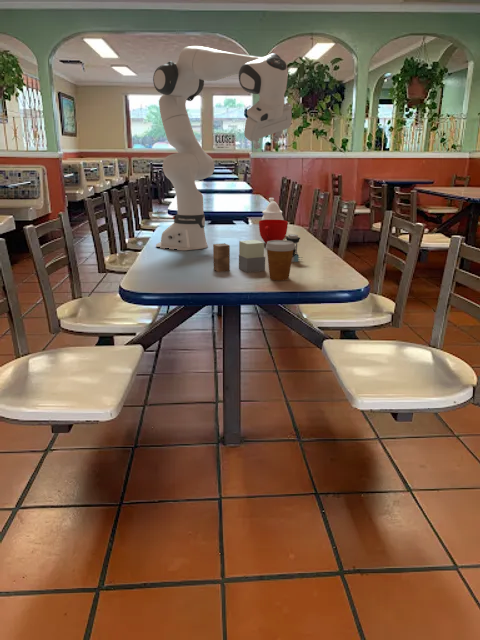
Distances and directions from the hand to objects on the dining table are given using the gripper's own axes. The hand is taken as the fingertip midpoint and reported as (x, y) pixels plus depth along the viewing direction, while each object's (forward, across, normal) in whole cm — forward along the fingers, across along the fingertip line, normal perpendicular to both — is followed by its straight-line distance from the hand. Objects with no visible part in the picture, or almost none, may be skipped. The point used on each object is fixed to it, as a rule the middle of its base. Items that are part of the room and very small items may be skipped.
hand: (266, 144), depth 186 cm
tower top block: (+21, +28, +28) cm, 45 cm away
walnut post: (+25, +38, +24) cm, 52 cm away
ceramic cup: (+50, -7, +4) cm, 50 cm away
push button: (+31, +9, +31) cm, 45 cm away
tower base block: (+25, +29, +30) cm, 49 cm away
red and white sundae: (+62, -24, -12) cm, 67 cm away
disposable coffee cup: (+18, +30, +44) cm, 56 cm away
